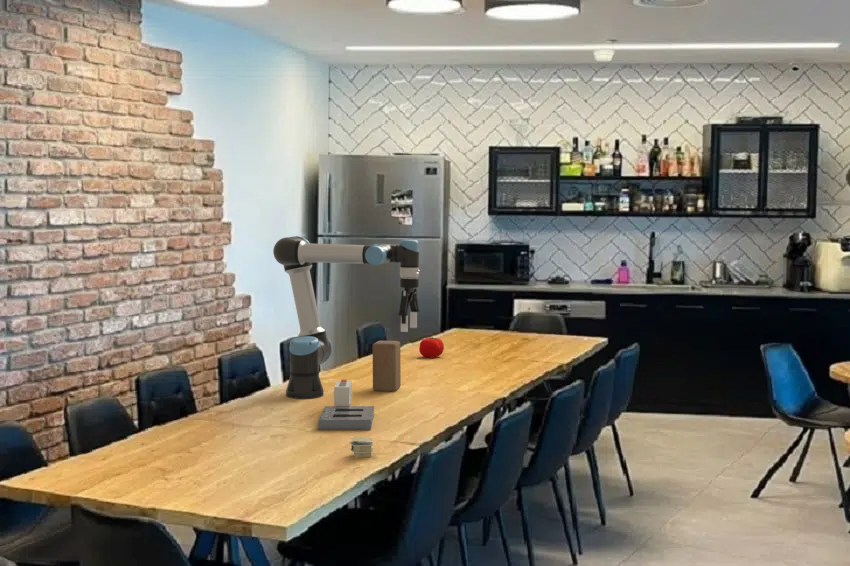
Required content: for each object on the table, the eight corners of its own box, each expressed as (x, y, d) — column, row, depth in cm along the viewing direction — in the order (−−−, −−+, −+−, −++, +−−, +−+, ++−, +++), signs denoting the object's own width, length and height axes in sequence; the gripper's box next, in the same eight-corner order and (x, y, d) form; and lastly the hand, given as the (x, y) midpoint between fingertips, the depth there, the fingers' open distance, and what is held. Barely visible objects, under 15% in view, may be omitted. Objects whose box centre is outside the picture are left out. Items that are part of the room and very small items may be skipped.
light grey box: (334, 414, 384) (334, 385, 384) (337, 406, 398) (337, 378, 397) (349, 413, 384) (349, 385, 384) (351, 406, 398) (351, 378, 397)
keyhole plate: (318, 430, 358) (318, 419, 358) (325, 415, 382) (324, 406, 382) (370, 429, 358) (370, 419, 358) (374, 415, 382) (374, 406, 382)
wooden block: (395, 392, 430) (395, 343, 428) (372, 391, 432) (371, 343, 430) (401, 387, 439) (400, 340, 438) (378, 387, 441) (377, 340, 440)
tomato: (416, 356, 529) (416, 336, 528) (440, 355, 533) (440, 335, 532) (423, 359, 518) (422, 339, 517) (447, 358, 522) (447, 338, 521)
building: (377, 452, 327) (377, 435, 327) (377, 460, 318) (377, 442, 318) (345, 453, 327) (345, 436, 326) (344, 460, 318) (344, 442, 317)
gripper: (409, 280, 410) (409, 333, 411) (426, 275, 434) (425, 326, 435) (391, 279, 412) (391, 333, 413) (409, 275, 436) (408, 325, 437)
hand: (408, 329), depth 424 cm, fingers open, 13 cm apart
